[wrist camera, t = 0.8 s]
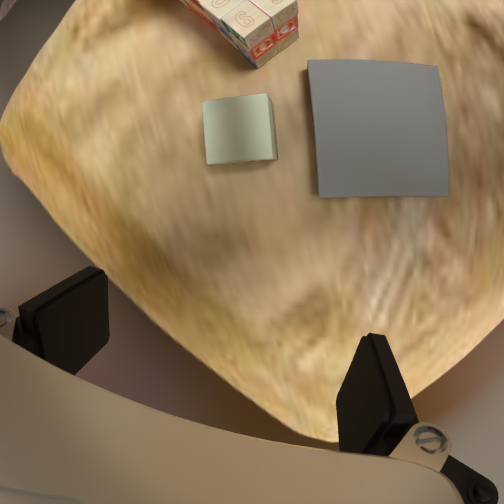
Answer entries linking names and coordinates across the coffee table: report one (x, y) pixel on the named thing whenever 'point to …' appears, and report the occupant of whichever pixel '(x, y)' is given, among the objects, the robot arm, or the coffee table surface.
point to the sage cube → (239, 129)
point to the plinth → (378, 129)
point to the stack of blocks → (252, 24)
